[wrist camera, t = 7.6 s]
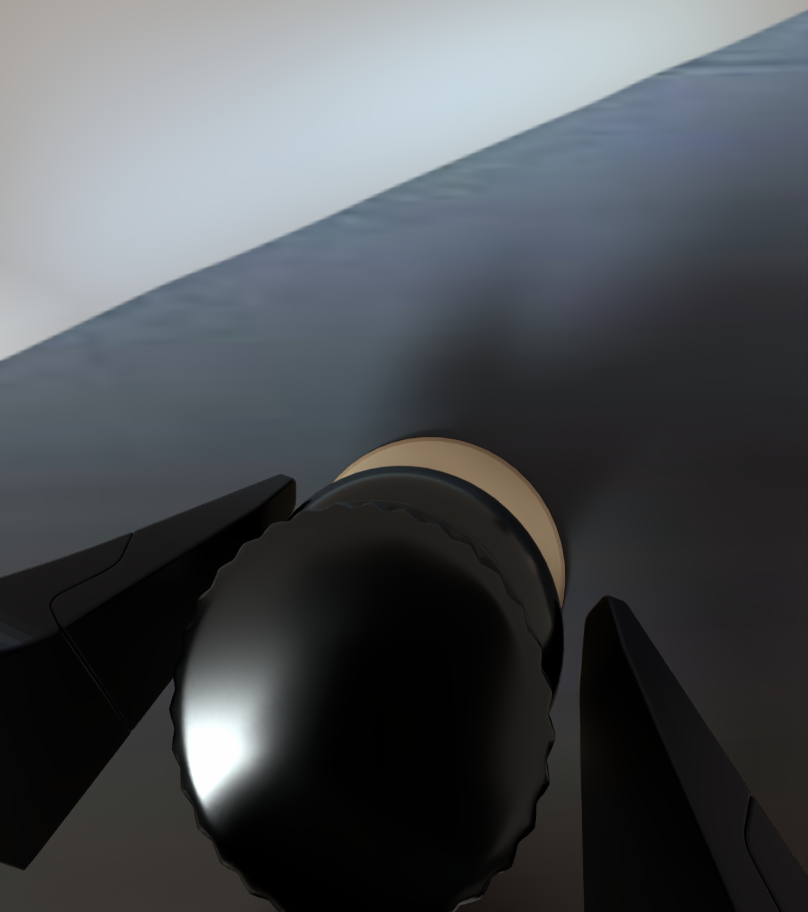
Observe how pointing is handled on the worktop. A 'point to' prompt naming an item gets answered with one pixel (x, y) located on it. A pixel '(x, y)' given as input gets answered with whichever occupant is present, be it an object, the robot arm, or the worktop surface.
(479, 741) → the supplement bottle
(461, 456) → the coaster
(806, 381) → the worktop surface
